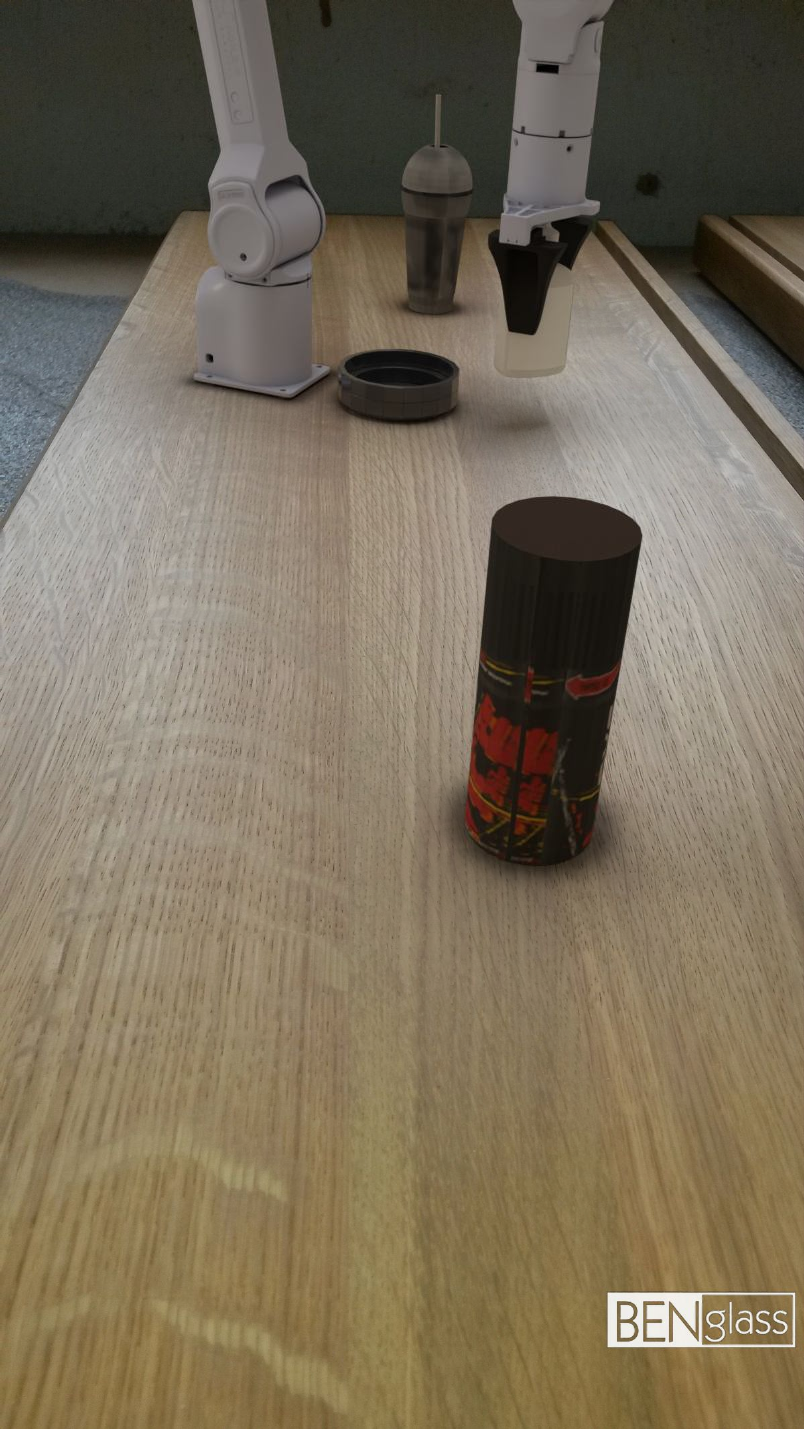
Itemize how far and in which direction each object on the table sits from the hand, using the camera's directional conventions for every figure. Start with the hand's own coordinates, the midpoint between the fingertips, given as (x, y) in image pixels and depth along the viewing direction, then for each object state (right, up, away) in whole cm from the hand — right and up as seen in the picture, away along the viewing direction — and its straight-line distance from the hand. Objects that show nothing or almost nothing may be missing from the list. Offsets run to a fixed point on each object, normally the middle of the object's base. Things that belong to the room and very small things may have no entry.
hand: (532, 323), depth 95 cm
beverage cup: (-7, +12, +32) cm, 35 cm away
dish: (-11, -4, +8) cm, 14 cm away
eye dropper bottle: (0, -3, +2) cm, 4 cm away
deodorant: (-4, -36, -38) cm, 52 cm away
